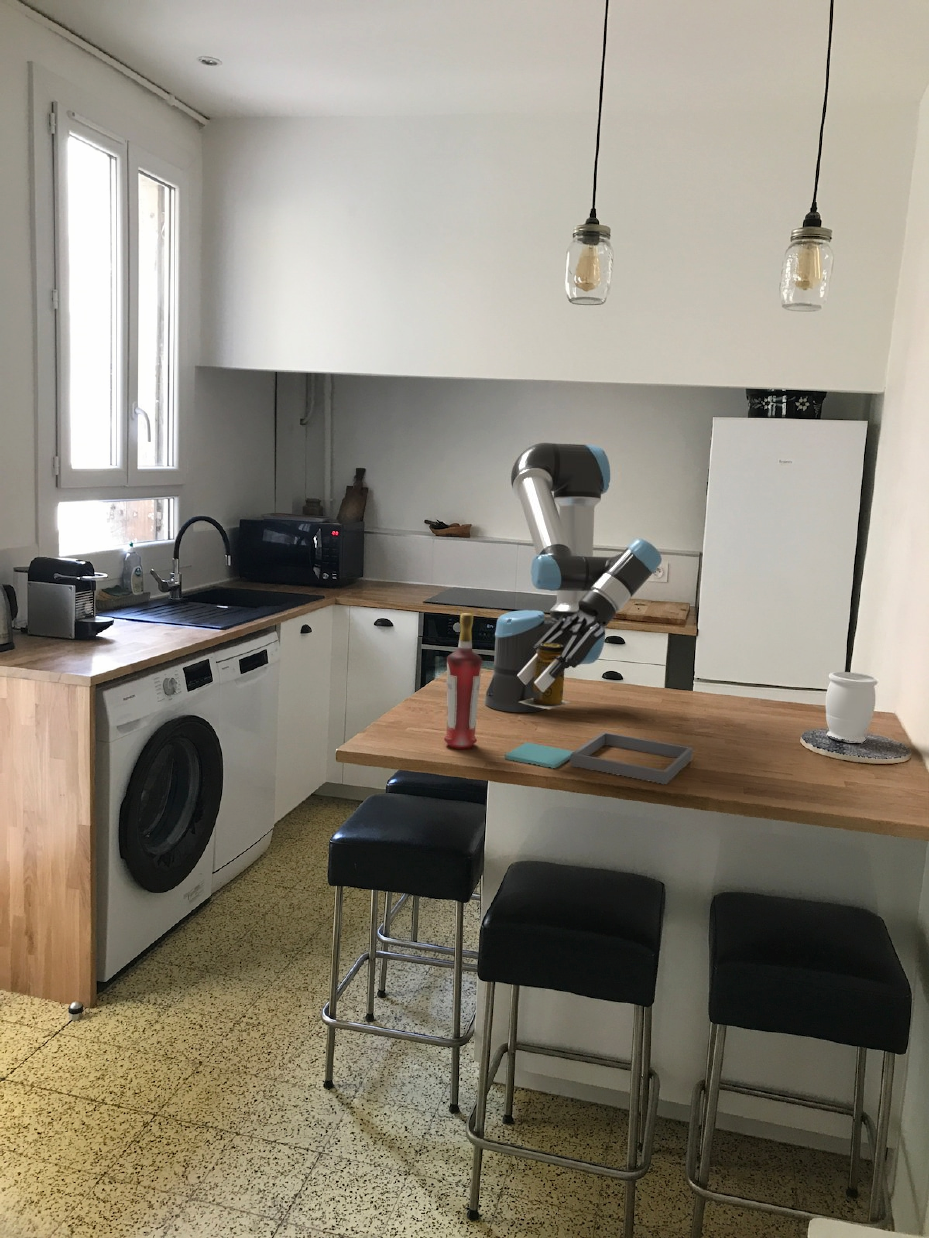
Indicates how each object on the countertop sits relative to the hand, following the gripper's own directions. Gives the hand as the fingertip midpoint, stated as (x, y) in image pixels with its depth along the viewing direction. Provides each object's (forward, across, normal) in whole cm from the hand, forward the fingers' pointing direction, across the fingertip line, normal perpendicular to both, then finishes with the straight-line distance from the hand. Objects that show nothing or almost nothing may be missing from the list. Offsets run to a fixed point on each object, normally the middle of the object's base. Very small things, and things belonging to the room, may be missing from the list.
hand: (530, 683), depth 194 cm
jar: (-45, -10, -68) cm, 82 cm away
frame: (-3, -9, -25) cm, 27 cm away
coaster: (+9, 0, -14) cm, 16 cm away
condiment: (+1, 0, -6) cm, 6 cm away
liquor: (+17, +12, -5) cm, 22 cm away
